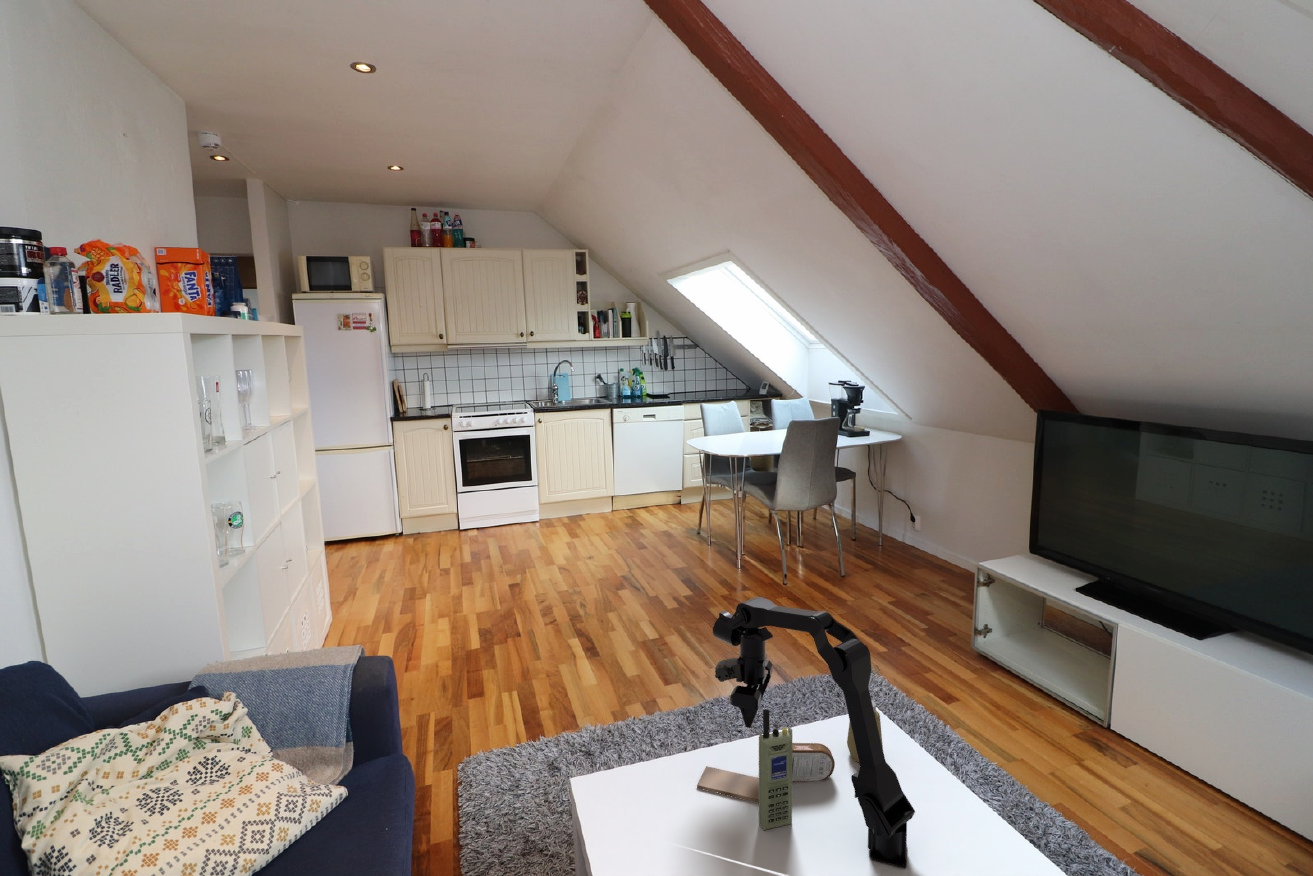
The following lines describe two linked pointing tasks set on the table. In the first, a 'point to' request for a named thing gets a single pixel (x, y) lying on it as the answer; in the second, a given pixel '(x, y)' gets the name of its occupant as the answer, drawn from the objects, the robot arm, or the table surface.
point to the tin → (811, 762)
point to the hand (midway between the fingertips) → (752, 716)
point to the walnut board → (730, 784)
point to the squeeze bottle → (851, 739)
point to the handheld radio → (775, 776)
